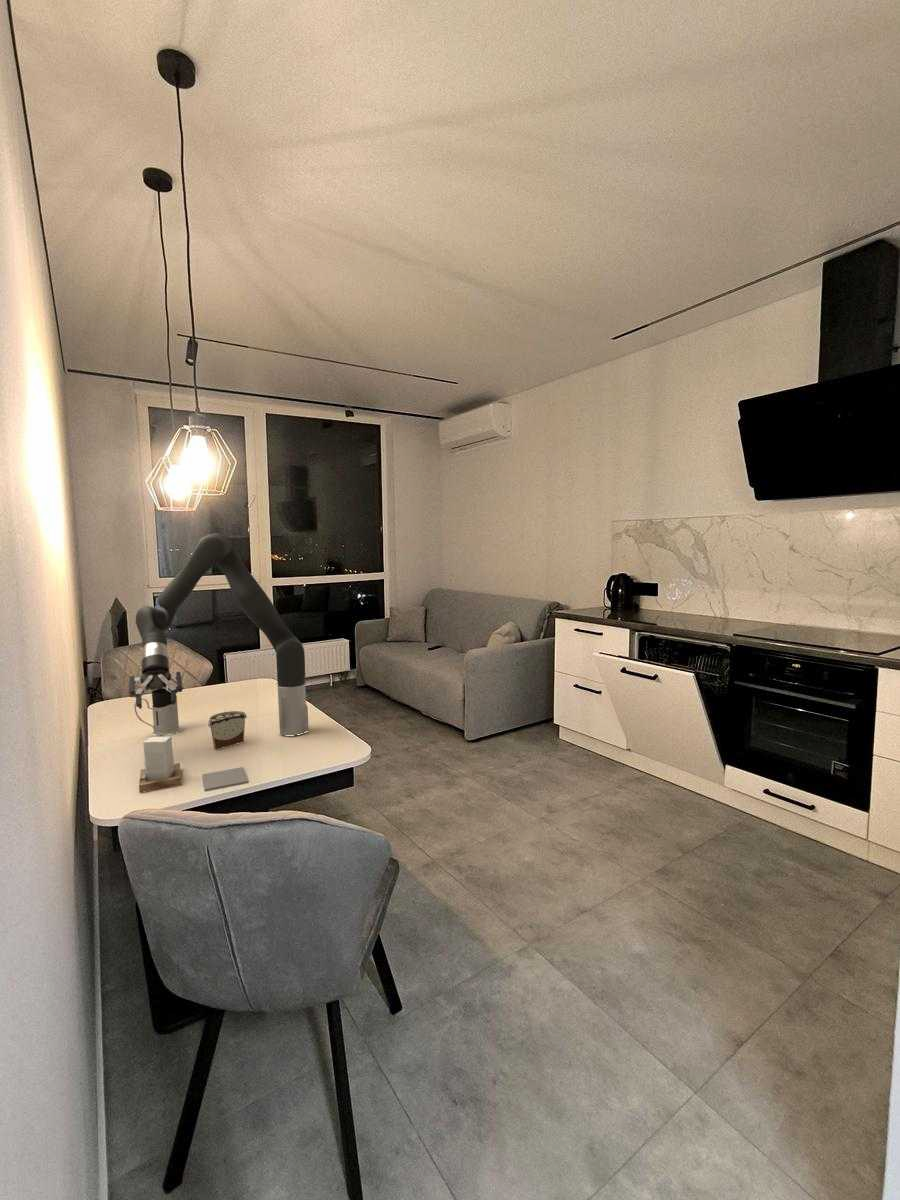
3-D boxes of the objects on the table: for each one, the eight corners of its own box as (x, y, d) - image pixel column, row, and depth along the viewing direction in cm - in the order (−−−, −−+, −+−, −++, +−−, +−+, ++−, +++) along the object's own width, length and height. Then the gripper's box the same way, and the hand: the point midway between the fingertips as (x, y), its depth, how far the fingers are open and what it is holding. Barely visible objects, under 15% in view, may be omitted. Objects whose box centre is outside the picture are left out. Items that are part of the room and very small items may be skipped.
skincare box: (175, 776, 157) (172, 736, 156) (168, 783, 153) (165, 741, 151) (153, 777, 157) (150, 736, 155) (145, 784, 152) (142, 742, 151)
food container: (240, 736, 189) (238, 708, 188) (248, 741, 185) (246, 712, 184) (203, 746, 181) (201, 716, 180) (210, 751, 176) (208, 720, 175)
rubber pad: (243, 768, 162) (243, 766, 162) (248, 782, 152) (248, 780, 152) (202, 776, 157) (202, 774, 157) (204, 791, 147) (204, 789, 147)
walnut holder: (180, 769, 162) (179, 761, 162) (181, 784, 152) (180, 776, 151) (141, 776, 158) (140, 767, 157) (139, 792, 147) (138, 783, 147)
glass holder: (184, 731, 196) (182, 689, 194) (142, 742, 185) (139, 698, 183) (173, 726, 201) (170, 685, 200) (131, 737, 190) (128, 694, 189)
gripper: (127, 655, 167) (127, 702, 158) (180, 651, 173) (183, 695, 164) (130, 669, 172) (130, 715, 163) (180, 664, 179) (183, 708, 170)
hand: (156, 705), depth 164 cm, fingers open, 8 cm apart
